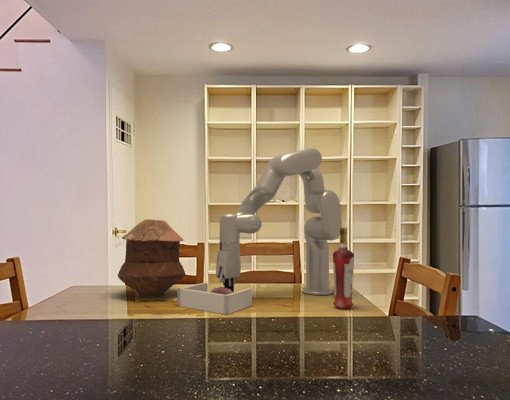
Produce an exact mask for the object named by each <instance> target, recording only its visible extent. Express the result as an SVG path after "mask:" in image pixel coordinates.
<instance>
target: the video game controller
mask: <svg viewBox="0 0 510 400" xmlns="http://www.w3.org/2000/svg"><path fill="white" fill-rule="evenodd" d="M234 292H235V291H234ZM234 292H233V291H232V290H230V289H228V288H224V286H219V287H214V288H213V289H211V290H210V293H217V294H224V295H227V294H231V293H234Z"/></svg>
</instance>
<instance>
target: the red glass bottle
mask: <svg viewBox="0 0 510 400" xmlns="http://www.w3.org/2000/svg"><path fill="white" fill-rule="evenodd" d="M339 232H340V236H339V245H338V249H337V250H335V251H333V252H332V267H333V270H332V271H333V285H334V286H333V287H334V288H333V289H334V290H333V294H334V301H333V305H334V307H336V309H339V310H350V309H351V308H352V307H353V306H354V303H353V284H354V283H353V281H354V265H355V264H354V263H355V262H354V261H355V254H354V252H353V251H351V250H349V249H348V240H347V238H348V236H347V235H348V227H343V226H342V227H340V228H339Z"/></svg>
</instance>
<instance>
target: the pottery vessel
mask: <svg viewBox="0 0 510 400" xmlns="http://www.w3.org/2000/svg"><path fill="white" fill-rule="evenodd" d="M121 239H122V240H126V241H125V258H124V262H123V263H122V265H121V267H120V268H119V272H118V273H117V277H118V279H119V280H120V281H121V282H122V283H123V284H125V285H126V286H127V287H129V288H130V289H132V290H134V291H135V292H136V293H137V295H138V296H139V297H140V298H159V297H163V296H165V293H166V292H167V291H168V290H169V289H170V288H172V287H173V286H174V285H175V284H177V283H178V282H179V281H180V280H182V279H183V278H184V277H185V276H186V271H185V268H184V266H183V265H182V263H181V262H180V249H181V248H180V246H181V244H180V243H181V242H183V241H184V238H183V237H182V236H181V235H179V233H177V232H176V231H175V230H174V229H173V228H172V226H170V225H169V223H168V222H167V221H166V220H163V219H143V220H142V221H140V222H139V223H137V224H136V225H135V226H134V227H133V228H132V229H131V230H130V231H129V232H128V233H126V234H124V235H123V236H122V237H121Z"/></svg>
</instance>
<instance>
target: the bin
mask: <svg viewBox="0 0 510 400" xmlns="http://www.w3.org/2000/svg"><path fill="white" fill-rule="evenodd" d="M210 292H211V291H210ZM210 292H209V291H208V282H202V283H197V284H193V285H188V286H183V287H179V288H177V294H176V295H177V297H176V298H177V304H176V305H177V307H180V308H182V307H183V308H187V309H193V310H198V311H203V312H210V313H214V314H215V313H216V314H220V315H225V316H226V315H229V314H233V313H235V312H238V311H242V310H243V309H246V308H249V307H251V306H253V288H252V287H251V288H250V287H249V288H246V289H245V288H244V289H242V290H239V291H234V293H231V294H227V295H224V294H217V293H210Z"/></svg>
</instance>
